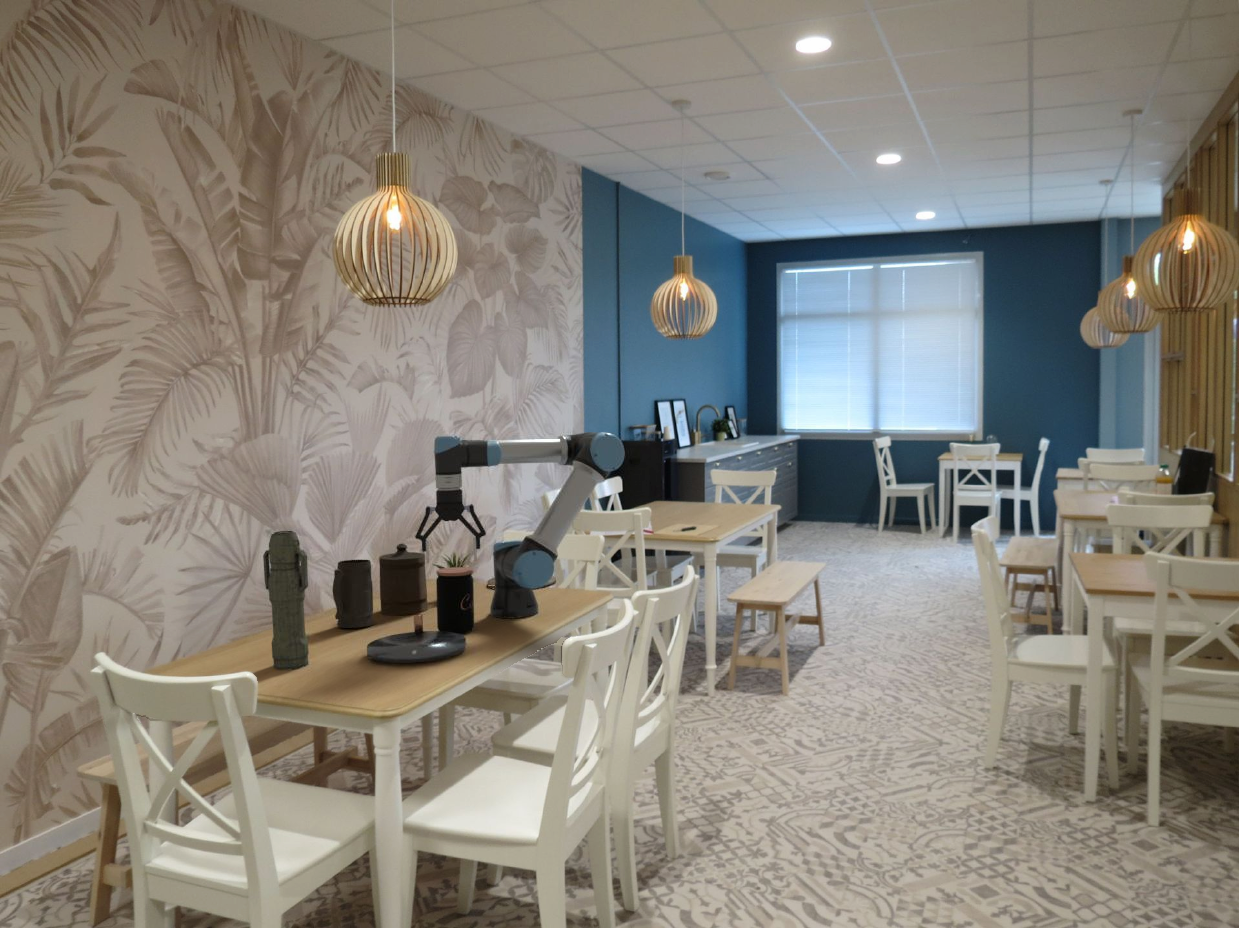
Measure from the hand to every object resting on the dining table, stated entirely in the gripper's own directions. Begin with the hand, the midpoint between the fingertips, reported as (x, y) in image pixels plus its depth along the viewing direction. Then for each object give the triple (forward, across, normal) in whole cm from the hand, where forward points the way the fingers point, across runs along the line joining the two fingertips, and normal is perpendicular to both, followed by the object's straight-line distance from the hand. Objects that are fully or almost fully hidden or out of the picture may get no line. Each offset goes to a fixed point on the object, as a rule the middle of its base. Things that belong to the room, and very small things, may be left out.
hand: (451, 561), depth 287 cm
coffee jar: (+21, 0, 0) cm, 21 cm away
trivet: (+21, +23, +70) cm, 77 cm away
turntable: (+21, -10, -23) cm, 32 cm away
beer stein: (+21, -31, +15) cm, 40 cm away
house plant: (+21, 0, +52) cm, 56 cm away
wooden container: (+21, -17, +35) cm, 44 cm away
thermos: (+21, -42, -26) cm, 53 cm away
